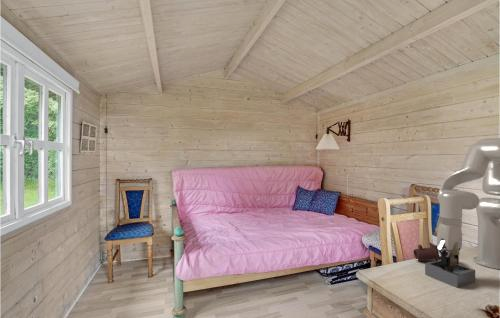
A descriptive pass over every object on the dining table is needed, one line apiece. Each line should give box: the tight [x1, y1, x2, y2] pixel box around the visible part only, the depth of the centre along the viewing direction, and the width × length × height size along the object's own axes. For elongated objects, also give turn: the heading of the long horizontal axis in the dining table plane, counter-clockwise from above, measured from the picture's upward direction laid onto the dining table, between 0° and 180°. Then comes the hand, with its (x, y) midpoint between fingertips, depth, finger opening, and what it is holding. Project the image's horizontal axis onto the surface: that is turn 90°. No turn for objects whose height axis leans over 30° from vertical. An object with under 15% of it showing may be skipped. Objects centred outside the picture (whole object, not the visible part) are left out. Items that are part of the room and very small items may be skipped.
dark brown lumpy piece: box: [413, 240, 441, 262], centre depth 126 cm, size 6×17×10 cm, turn 78°
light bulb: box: [444, 242, 458, 272], centre depth 110 cm, size 6×6×15 cm
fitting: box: [424, 260, 476, 289], centre depth 110 cm, size 12×12×5 cm
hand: (449, 264), depth 110 cm, fingers closed on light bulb, 5 cm apart
